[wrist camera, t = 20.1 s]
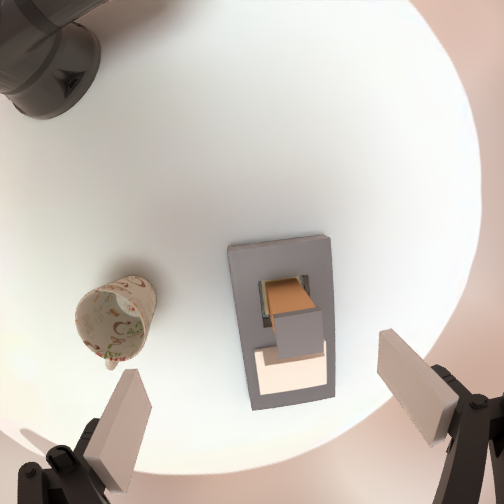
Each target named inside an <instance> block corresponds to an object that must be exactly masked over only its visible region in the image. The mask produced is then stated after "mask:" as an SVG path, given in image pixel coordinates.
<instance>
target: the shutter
mask: <svg viewBox="0 0 504 504" xmlns="http://www.w3.org/2000/svg"><path fill="white" fill-rule="evenodd" d="M254 352H255V360H256V367H257V374H258V381H259V388H260V395H264V394H271V393H278V392H285V391H291V390H297V389H303V388H308V387H314V386H319V385H324V384H327V364H326V340H325V339H324V352H320V353H314V354H309V355H304V356H298V357H292V358H286V359H280V360H279V357H278V351H277V346H275V347H268V348H261V349H254Z"/></svg>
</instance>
